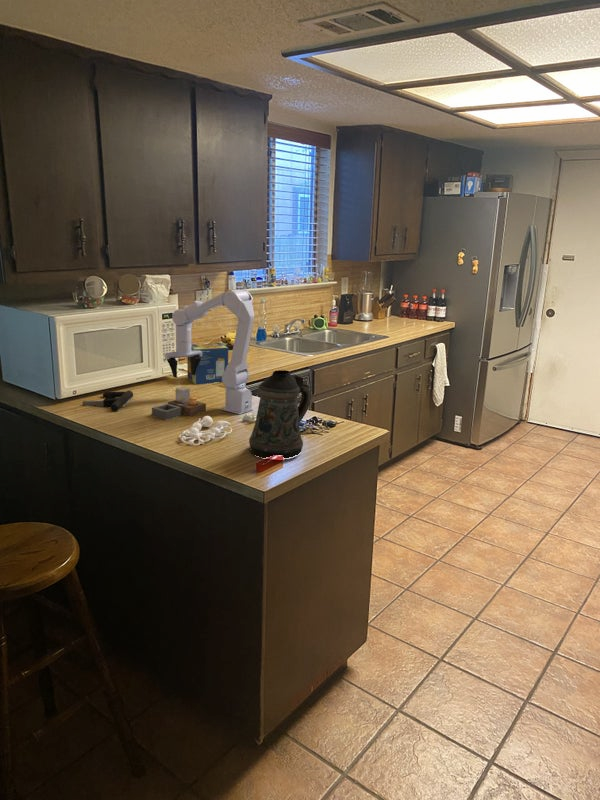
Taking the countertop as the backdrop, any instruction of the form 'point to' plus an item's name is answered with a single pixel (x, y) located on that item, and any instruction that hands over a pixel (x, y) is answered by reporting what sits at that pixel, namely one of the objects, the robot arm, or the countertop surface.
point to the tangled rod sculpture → (197, 434)
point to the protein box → (209, 363)
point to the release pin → (192, 401)
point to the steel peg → (182, 395)
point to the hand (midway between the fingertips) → (184, 375)
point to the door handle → (112, 400)
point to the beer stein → (280, 416)
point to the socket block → (190, 408)
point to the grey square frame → (166, 411)
